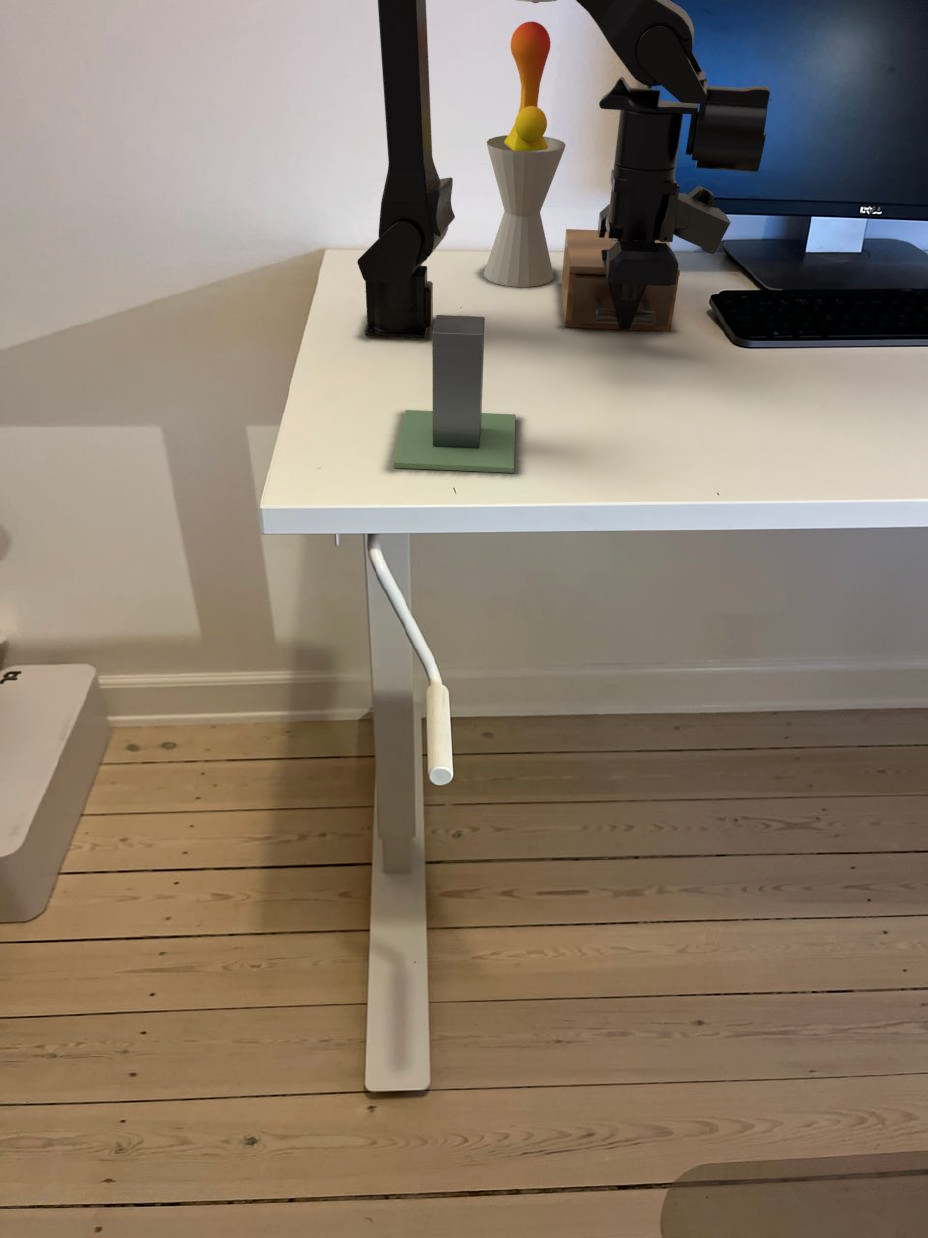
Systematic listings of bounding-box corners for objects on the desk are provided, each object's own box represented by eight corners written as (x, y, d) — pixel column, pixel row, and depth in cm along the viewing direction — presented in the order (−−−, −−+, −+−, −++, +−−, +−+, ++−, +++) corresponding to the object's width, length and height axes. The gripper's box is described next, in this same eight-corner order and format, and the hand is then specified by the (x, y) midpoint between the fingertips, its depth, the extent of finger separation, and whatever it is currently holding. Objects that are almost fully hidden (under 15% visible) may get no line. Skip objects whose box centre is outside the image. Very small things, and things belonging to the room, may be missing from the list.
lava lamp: (474, 265, 121) (483, -76, 100) (542, 261, 123) (565, -75, 102) (493, 289, 114) (507, -72, 93) (565, 284, 116) (595, -71, 95)
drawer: (672, 343, 100) (680, 297, 97) (572, 339, 100) (577, 293, 97) (655, 287, 113) (661, 245, 110) (567, 284, 114) (571, 242, 111)
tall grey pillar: (432, 446, 82) (432, 332, 76) (436, 425, 85) (436, 314, 79) (479, 448, 82) (483, 334, 75) (481, 427, 85) (484, 316, 79)
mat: (393, 467, 80) (393, 462, 79) (405, 414, 88) (405, 409, 87) (513, 473, 79) (514, 467, 79) (515, 419, 87) (515, 414, 87)
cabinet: (670, 330, 105) (680, 269, 101) (564, 326, 105) (569, 265, 101) (657, 288, 116) (665, 232, 112) (561, 285, 116) (566, 228, 112)
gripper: (750, 190, 82) (717, 367, 91) (716, 148, 97) (691, 303, 106) (618, 185, 82) (599, 361, 91) (606, 144, 97) (590, 299, 106)
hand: (624, 329), depth 99 cm, fingers closed
